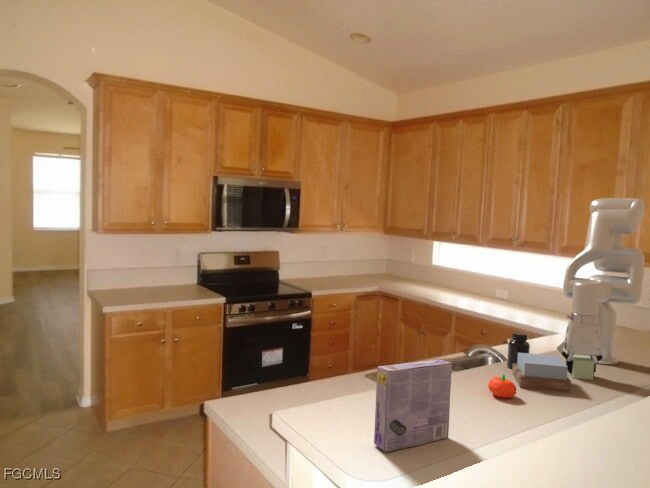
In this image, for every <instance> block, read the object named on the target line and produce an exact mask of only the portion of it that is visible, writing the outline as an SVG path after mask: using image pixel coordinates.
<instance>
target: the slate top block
mask: <svg viewBox="0 0 650 488" xmlns="http://www.w3.org/2000/svg"><path fill="white" fill-rule="evenodd" d="M517 365H518V367H519V368H520V370H521V372H522V373H523V375H524V376H529V377H540V378H551V379H562V380H567V377H568V371H567V370H568V367H567V366H566V362H564V361H563V360H562V359H561V358H560V357H559V356H558V355H553V354H552V355H550V354H539V353H530V352H529V353H518V359H517Z"/></svg>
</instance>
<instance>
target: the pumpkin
mask: <svg viewBox="0 0 650 488" xmlns="http://www.w3.org/2000/svg"><path fill="white" fill-rule="evenodd" d="M487 388H488V389H489V391H490V392H491V393H492V394H493V395H494V396H496V397H498V398H502V399H509V398H513V397H514V396H516V394H517V387H516V385H515V383H514V382H513V381H511V380H509V379H507V378H506V375H505V374H502V376H501V377H500V376H493V377H492V378H490V379H489V381H488V384H487Z"/></svg>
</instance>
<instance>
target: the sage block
mask: <svg viewBox="0 0 650 488" xmlns="http://www.w3.org/2000/svg"><path fill="white" fill-rule="evenodd" d="M572 362H573V364H572V373H569V372H568V371H567V374H569V375H570V377H571V378H572V377H573V378H572V379H577V378H579V380H588V379H590V380H589V381H594V375H595V372H594V361H593V360H592V359H590V358H589V357H587V356H579V355H576V354H574V356H573V358H572Z"/></svg>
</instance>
